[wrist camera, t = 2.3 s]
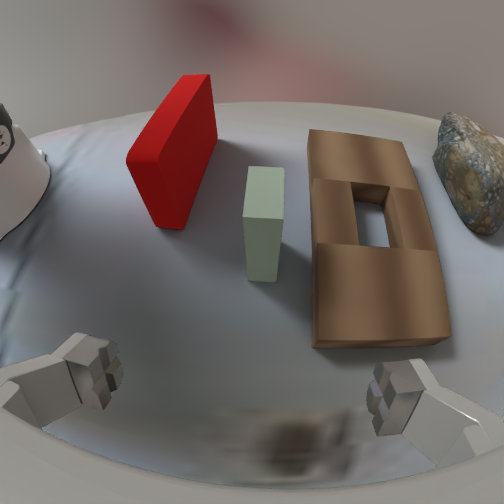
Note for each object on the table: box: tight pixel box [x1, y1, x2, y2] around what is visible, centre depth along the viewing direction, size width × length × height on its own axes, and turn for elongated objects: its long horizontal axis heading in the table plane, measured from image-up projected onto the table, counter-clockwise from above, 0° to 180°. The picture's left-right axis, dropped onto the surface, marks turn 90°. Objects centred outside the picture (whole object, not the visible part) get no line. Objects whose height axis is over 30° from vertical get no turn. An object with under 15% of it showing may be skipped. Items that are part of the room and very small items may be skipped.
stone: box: [432, 112, 504, 235], centre depth 29 cm, size 14×19×8 cm
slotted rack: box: [307, 129, 451, 348], centre depth 27 cm, size 12×24×3 cm, turn 175°
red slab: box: [126, 74, 218, 230], centre depth 28 cm, size 15×3×10 cm, turn 170°
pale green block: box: [242, 166, 284, 282], centre depth 23 cm, size 2×4×10 cm, turn 175°
